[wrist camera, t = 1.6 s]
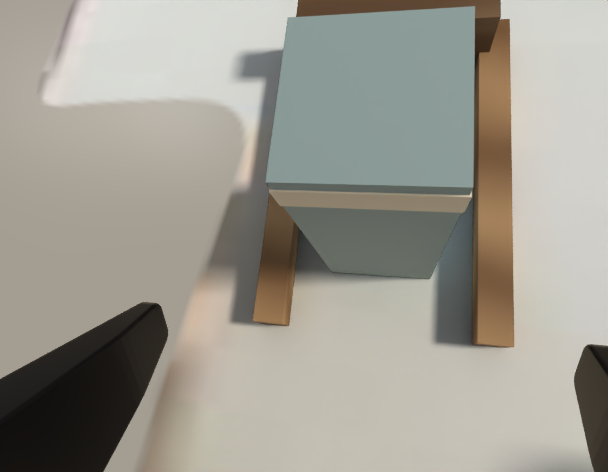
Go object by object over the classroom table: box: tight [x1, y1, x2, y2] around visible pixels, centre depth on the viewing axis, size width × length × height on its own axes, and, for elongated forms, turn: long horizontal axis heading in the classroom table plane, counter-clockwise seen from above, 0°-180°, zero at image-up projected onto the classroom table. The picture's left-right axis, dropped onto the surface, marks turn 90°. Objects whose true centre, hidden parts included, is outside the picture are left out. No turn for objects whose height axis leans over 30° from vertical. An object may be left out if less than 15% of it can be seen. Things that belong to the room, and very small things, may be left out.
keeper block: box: [265, 6, 475, 279], centre depth 17 cm, size 5×5×12 cm
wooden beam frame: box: [253, 0, 514, 348], centre depth 22 cm, size 17×12×4 cm
